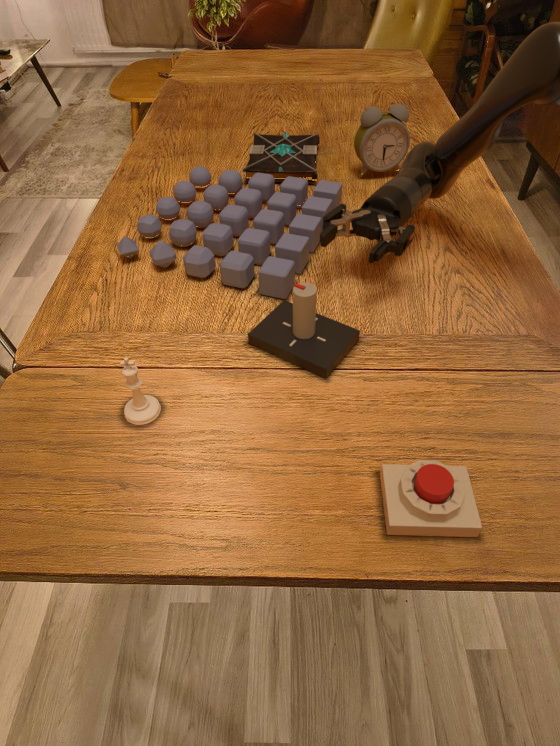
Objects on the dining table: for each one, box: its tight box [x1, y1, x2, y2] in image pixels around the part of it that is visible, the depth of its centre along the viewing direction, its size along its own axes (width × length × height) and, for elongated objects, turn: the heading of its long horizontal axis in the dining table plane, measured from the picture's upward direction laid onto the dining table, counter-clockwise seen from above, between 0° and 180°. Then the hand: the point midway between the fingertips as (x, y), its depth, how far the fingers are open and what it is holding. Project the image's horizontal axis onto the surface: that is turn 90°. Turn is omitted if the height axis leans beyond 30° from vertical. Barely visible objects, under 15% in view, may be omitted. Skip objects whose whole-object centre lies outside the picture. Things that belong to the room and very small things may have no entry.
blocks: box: [116, 165, 343, 300], centre depth 101 cm, size 35×34×5 cm
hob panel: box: [247, 299, 361, 380], centre depth 79 cm, size 14×10×2 cm
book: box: [241, 131, 321, 186], centre depth 122 cm, size 22×17×5 cm
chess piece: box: [119, 357, 162, 426], centre depth 67 cm, size 5×5×10 cm
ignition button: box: [414, 464, 454, 504], centre depth 57 cm, size 4×4×2 cm
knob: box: [292, 281, 318, 339], centre depth 75 cm, size 3×3×8 cm
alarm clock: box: [353, 103, 411, 179], centre depth 115 cm, size 12×7×15 cm, turn 102°
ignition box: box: [379, 459, 483, 538], centre depth 59 cm, size 10×8×4 cm
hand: (346, 249), depth 79 cm, fingers open, 8 cm apart
